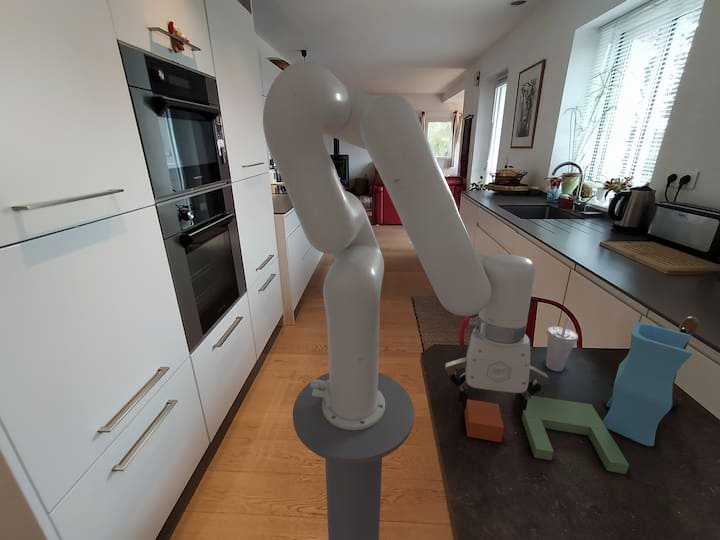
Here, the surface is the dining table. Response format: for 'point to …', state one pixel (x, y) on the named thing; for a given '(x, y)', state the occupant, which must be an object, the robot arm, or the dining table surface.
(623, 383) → the vase
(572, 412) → the green flat bent piece
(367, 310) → the robot arm
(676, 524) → the dining table surface
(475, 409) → the orange block
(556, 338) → the smoothie
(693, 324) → the wooden tabletop sculpture
